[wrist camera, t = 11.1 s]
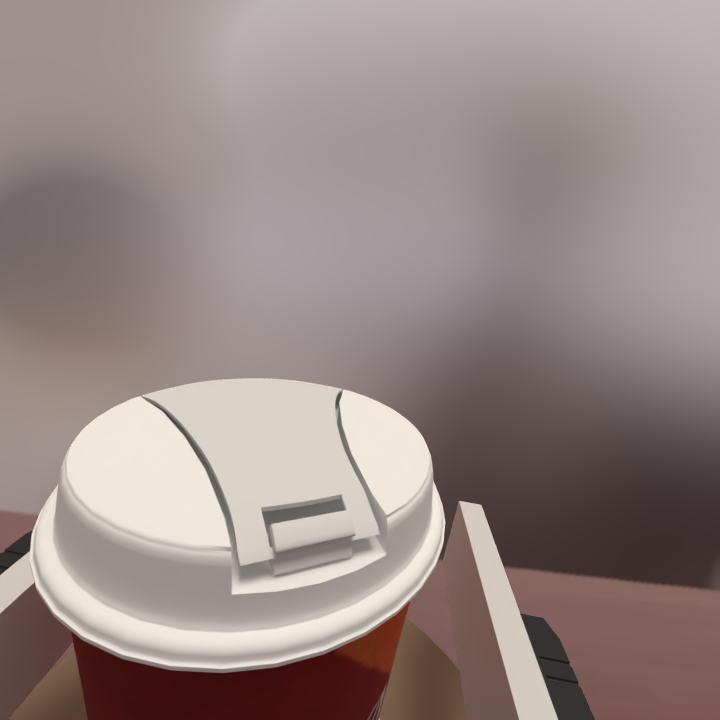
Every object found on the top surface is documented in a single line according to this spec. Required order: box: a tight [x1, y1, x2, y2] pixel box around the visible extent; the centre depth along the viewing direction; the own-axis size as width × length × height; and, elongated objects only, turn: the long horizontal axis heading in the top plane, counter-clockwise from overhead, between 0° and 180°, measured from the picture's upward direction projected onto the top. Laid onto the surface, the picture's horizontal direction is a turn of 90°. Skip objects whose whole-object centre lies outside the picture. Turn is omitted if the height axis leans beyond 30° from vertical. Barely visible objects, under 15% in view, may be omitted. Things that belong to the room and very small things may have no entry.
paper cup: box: [29, 379, 445, 720], centre depth 9 cm, size 8×8×14 cm
